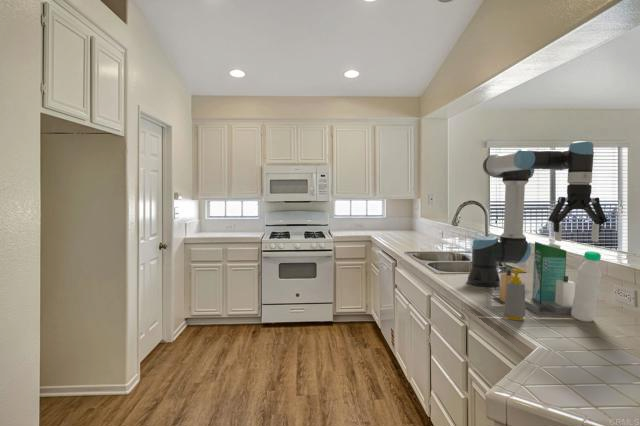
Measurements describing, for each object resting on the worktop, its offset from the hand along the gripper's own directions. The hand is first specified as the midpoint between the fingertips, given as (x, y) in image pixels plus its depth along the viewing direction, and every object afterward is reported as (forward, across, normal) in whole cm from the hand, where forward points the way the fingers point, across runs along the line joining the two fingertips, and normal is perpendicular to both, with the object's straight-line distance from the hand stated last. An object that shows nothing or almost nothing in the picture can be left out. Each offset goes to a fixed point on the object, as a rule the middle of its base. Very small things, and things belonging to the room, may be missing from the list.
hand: (576, 241), depth 144 cm
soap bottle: (+28, -24, -5) cm, 37 cm away
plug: (+27, -17, +15) cm, 36 cm away
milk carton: (+28, 0, +16) cm, 33 cm away
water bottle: (+28, +1, -4) cm, 28 cm away
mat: (+28, -17, +15) cm, 36 cm away
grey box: (+28, -4, +3) cm, 28 cm away
